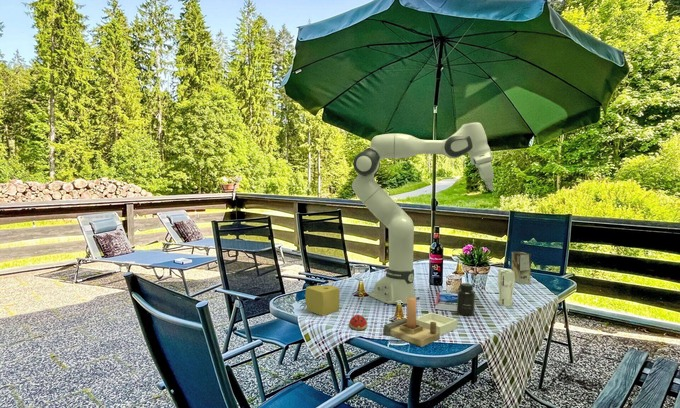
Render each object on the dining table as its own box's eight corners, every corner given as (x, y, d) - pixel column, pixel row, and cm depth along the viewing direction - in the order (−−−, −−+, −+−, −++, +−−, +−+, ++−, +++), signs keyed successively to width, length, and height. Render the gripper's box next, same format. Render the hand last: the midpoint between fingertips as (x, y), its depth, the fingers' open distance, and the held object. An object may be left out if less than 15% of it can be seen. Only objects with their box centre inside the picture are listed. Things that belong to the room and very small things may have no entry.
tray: (413, 327, 143) (413, 318, 143) (431, 320, 151) (431, 312, 151) (439, 335, 135) (439, 327, 135) (457, 328, 143) (457, 319, 142)
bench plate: (382, 333, 137) (382, 318, 137) (404, 325, 145) (404, 310, 145) (419, 347, 125) (420, 330, 125) (440, 338, 133) (441, 322, 133)
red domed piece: (365, 321, 149) (365, 312, 149) (369, 331, 140) (369, 321, 139) (348, 322, 149) (348, 313, 149) (350, 331, 139) (350, 322, 139)
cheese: (323, 305, 169) (323, 282, 168) (340, 311, 161) (341, 287, 161) (304, 310, 162) (305, 287, 161) (322, 317, 154) (322, 292, 153)
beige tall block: (515, 307, 168) (516, 272, 167) (498, 305, 169) (499, 271, 169) (512, 302, 175) (512, 269, 174) (495, 301, 176) (496, 268, 176)
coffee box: (530, 283, 208) (531, 254, 208) (519, 284, 208) (520, 254, 207) (521, 279, 218) (521, 251, 217) (510, 280, 217) (511, 251, 216)
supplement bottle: (465, 317, 155) (466, 287, 154) (453, 312, 161) (453, 283, 160) (478, 314, 158) (478, 285, 157) (465, 309, 164) (466, 281, 163)
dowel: (404, 329, 135) (405, 298, 135) (410, 327, 137) (411, 297, 137) (412, 332, 133) (412, 300, 132) (417, 330, 135) (418, 299, 134)
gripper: (472, 160, 178) (480, 189, 178) (475, 160, 158) (485, 193, 159) (486, 155, 176) (494, 185, 177) (491, 156, 156) (501, 188, 157)
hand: (490, 188), depth 167 cm, fingers open, 8 cm apart
